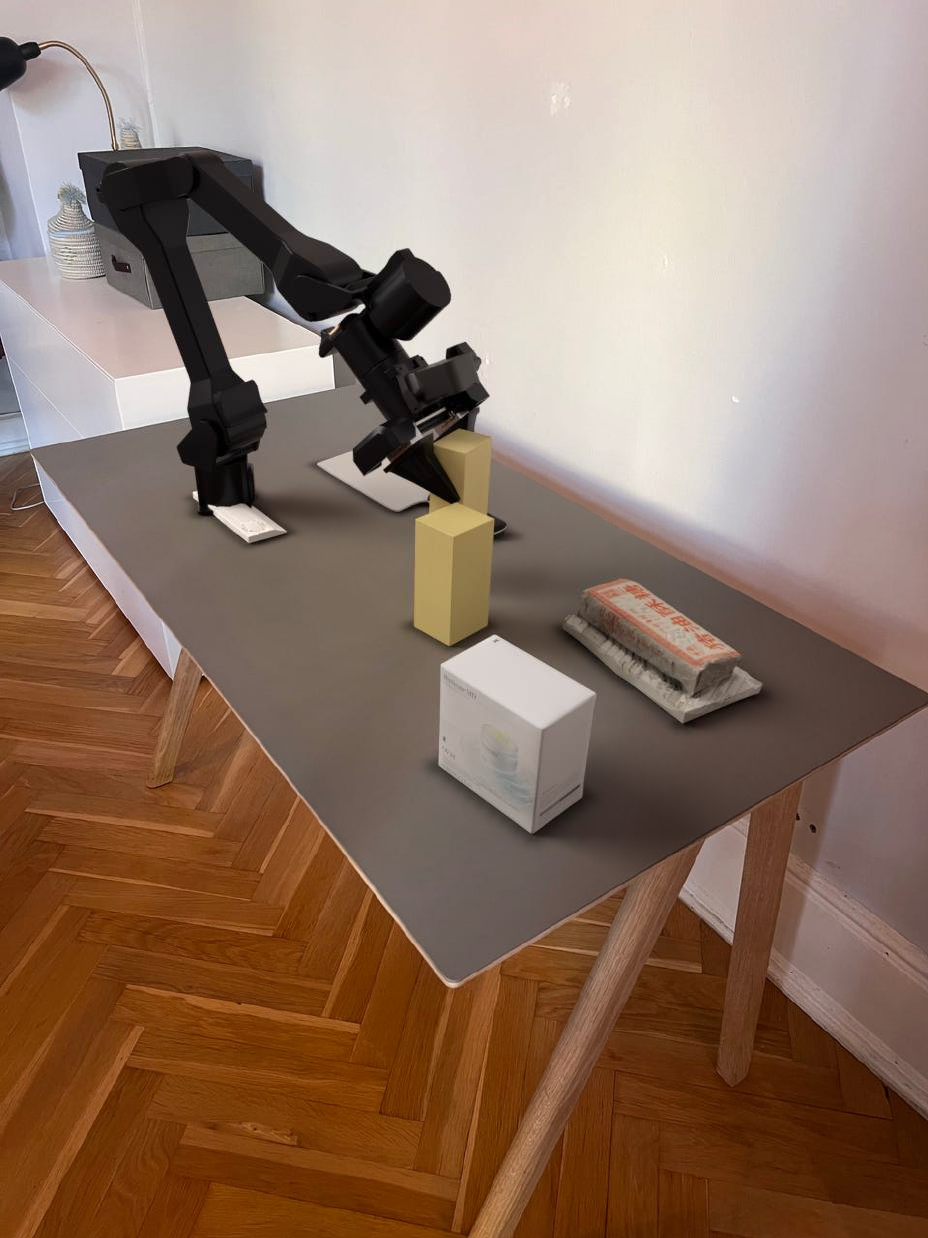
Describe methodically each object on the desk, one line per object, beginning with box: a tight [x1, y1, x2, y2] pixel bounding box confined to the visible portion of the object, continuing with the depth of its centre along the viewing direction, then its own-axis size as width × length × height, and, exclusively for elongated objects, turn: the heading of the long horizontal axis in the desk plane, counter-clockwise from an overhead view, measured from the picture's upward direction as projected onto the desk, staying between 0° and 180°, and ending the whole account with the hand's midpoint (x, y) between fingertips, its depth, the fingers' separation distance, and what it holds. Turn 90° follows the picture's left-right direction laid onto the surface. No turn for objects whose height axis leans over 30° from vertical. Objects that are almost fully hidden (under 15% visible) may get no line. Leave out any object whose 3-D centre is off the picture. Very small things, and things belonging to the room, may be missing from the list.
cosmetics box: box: [438, 634, 598, 834], centre depth 70 cm, size 10×6×10 cm, turn 45°
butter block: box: [413, 502, 494, 647], centre depth 89 cm, size 5×6×12 cm
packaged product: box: [562, 578, 764, 724], centre depth 87 cm, size 18×5×10 cm
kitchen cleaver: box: [317, 450, 508, 539], centre depth 118 cm, size 31×2×10 cm
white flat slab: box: [192, 490, 288, 544], centre depth 111 cm, size 5×15×1 cm, turn 38°
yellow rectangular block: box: [428, 429, 493, 515], centre depth 96 cm, size 4×6×12 cm
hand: (471, 492), depth 95 cm, fingers closed on yellow rectangular block, 5 cm apart
